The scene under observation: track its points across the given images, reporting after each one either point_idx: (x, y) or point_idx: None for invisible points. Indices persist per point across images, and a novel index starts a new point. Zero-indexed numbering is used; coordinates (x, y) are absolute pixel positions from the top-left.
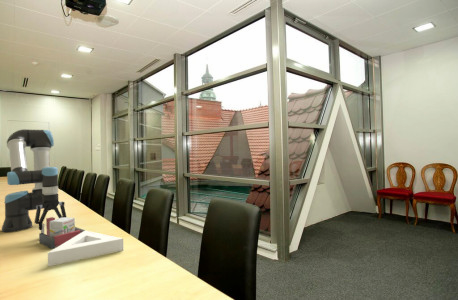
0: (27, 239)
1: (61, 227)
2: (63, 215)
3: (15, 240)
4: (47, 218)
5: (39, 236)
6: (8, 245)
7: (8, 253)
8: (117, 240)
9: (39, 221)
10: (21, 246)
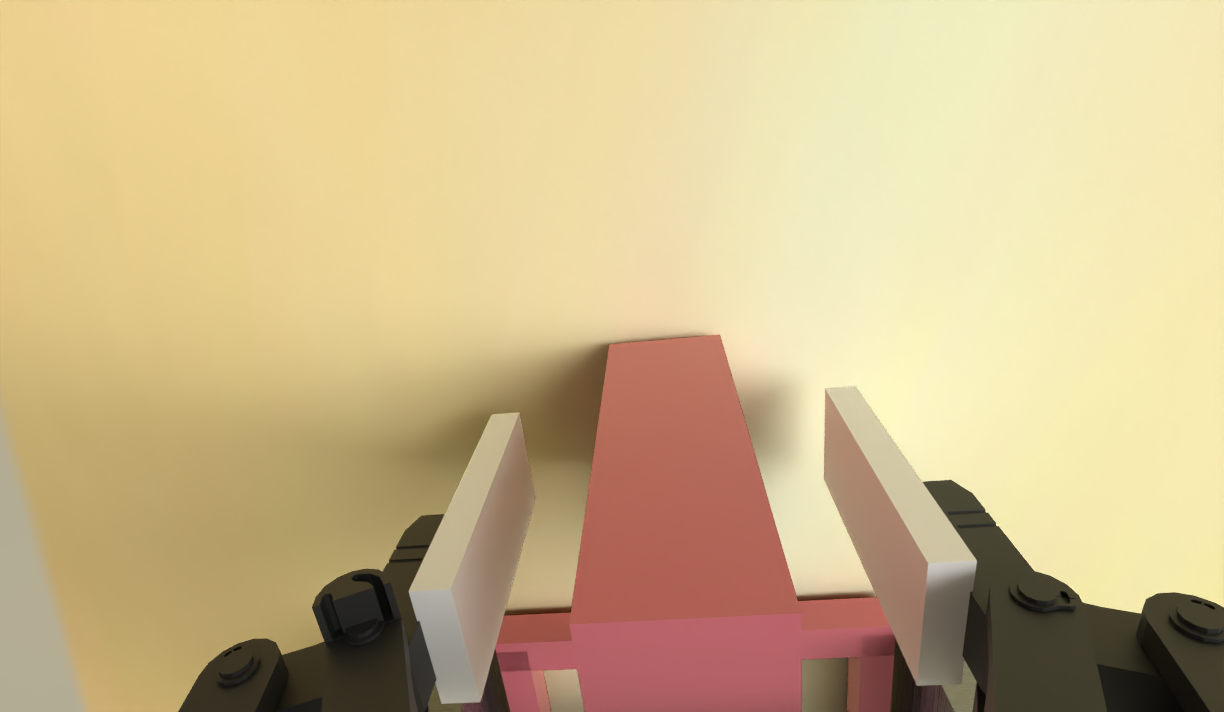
0: (297, 262)
1: None
2: (1214, 696)
3: (92, 129)
4: (595, 685)
5: None
6: (40, 373)
7: (121, 707)
8: None
9: (342, 689)
10: (233, 575)
